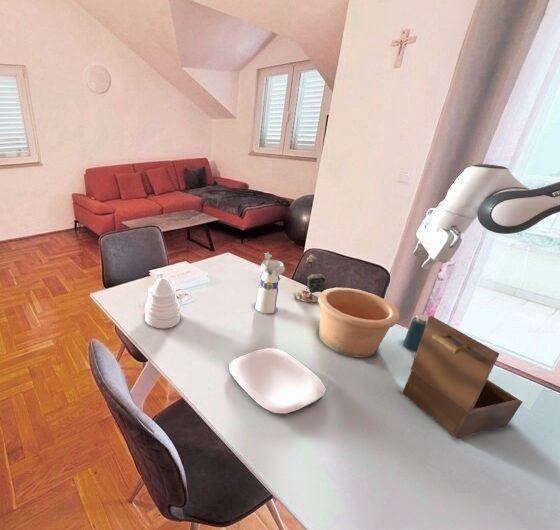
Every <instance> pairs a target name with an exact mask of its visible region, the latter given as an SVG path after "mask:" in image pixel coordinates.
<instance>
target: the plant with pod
mask: <svg viewBox="0 0 560 530" xmlns="http://www.w3.org/2000/svg"><path fill="white" fill-rule="evenodd" d="M317 261H318V257H316V256H315V255H313V254H309V256H308V257H307V258H306V260H305V262H304V265H306V264H310V270H309V274H308V276H307V279H306V281H307V285H306V289H305V290H304V289H302V290H300V292H295V296H294V299H296V300H298V301H302V302H306V303H310V302H317V296H316V295H315V293H321V292H323V291H325V290H326V276H325V275H324V274H322V273H314V274H312V269H313V265H315V264H316V263H317Z"/></svg>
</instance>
